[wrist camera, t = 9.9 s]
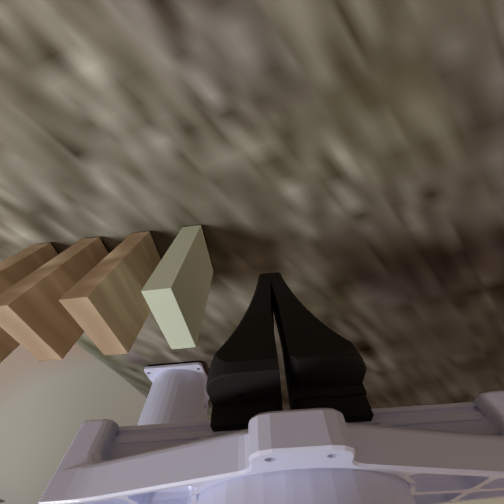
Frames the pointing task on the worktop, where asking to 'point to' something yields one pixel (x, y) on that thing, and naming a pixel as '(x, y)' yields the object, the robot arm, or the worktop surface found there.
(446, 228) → the worktop surface
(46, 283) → the domino
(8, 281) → the domino
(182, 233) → the domino
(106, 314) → the domino
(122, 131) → the worktop surface
